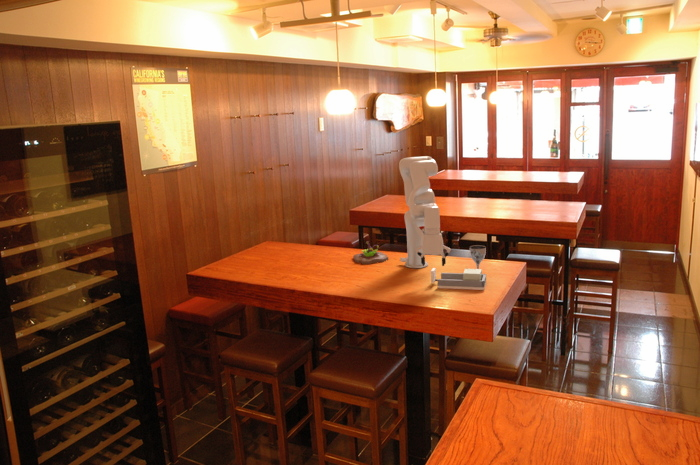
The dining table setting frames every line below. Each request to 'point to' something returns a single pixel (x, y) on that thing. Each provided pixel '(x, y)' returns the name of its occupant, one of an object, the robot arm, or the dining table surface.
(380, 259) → the plant
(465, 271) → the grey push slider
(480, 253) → the wine glass
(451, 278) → the lane tray
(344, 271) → the dining table surface
